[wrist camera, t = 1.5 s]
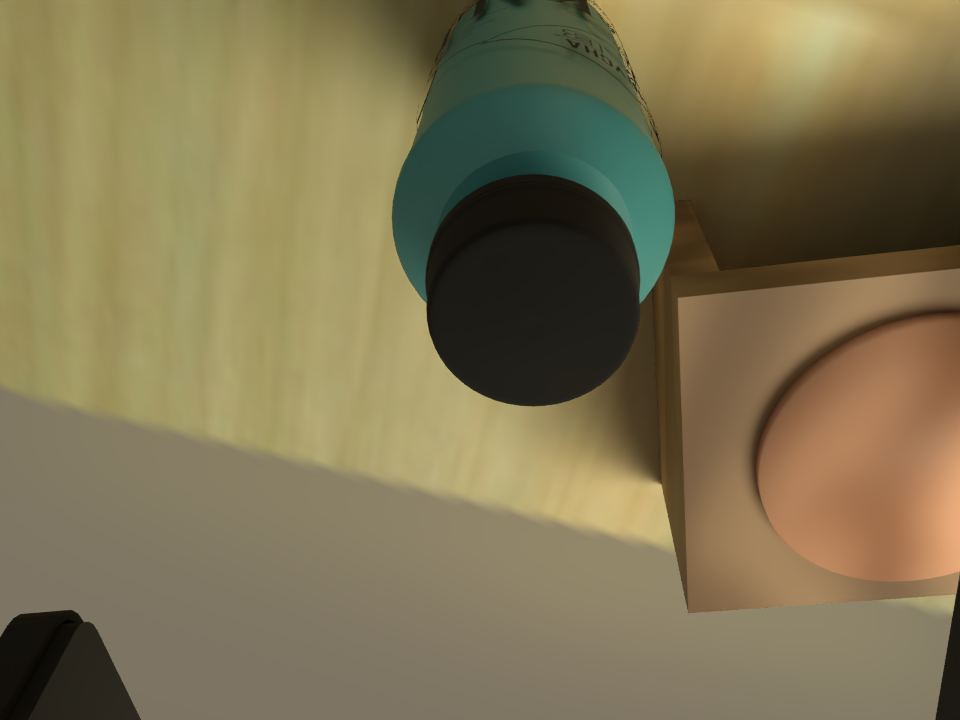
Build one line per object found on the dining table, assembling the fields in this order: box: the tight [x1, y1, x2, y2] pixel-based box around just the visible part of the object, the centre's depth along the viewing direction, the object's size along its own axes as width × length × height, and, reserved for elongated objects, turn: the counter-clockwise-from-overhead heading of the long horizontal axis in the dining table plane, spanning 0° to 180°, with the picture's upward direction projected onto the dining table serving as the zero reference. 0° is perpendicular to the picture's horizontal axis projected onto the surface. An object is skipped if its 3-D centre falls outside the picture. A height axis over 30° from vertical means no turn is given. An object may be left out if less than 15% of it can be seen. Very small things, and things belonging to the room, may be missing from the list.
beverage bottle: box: [392, 0, 675, 406], centre depth 25 cm, size 6×7×20 cm
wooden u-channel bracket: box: [652, 200, 960, 613], centre depth 35 cm, size 16×14×9 cm
